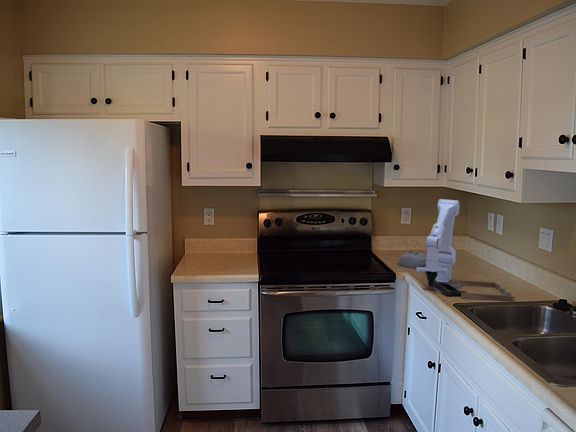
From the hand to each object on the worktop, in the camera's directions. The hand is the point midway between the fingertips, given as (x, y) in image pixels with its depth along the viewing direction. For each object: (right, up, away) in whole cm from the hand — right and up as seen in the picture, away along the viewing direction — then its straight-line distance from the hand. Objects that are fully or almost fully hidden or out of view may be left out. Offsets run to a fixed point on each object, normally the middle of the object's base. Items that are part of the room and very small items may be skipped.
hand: (430, 286), depth 221 cm
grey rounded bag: (+6, +5, +51) cm, 51 cm away
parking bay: (+24, -3, -2) cm, 24 cm away
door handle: (+10, -3, 0) cm, 10 cm away
